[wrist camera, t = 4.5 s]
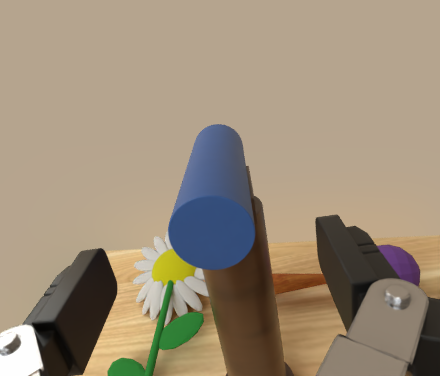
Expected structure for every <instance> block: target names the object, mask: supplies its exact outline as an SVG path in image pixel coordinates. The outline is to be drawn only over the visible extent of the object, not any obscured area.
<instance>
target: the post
mask: <svg viewBox="0 0 440 376" xmlns="http://www.w3.org/2000/svg"><path fill="white" fill-rule="evenodd" d="M246 171H247V178H248V184H249V191H250V198H251V204H252V211H253V218H254V225H255V240H254V244H253V246H252V248H251V250H250V252H249V253H248V254H247V256H246V257H245V258H244V259H243V260H241V261H240V262H239V263H237V264H235V265H233V266H231V267H228V268H225V269H220V270H206V269H202V271H203V275H204V279H205V283H206V287H207V291H208V295H209V299H210V303H211V307H212V312H213V316H214V320H215V324H216V328H217V332H218V336H219V340H220V344H221V348H222V352H223V356H224V360H225V365H226V369H227V374H226V376H294V375H293V372H292V370H291V369H290V367H289V366H288V365H287V364H286V363H285V362H284V355H283V348H282V341H281V334H280V326H279V319H278V312H277V305H276V298H275V291H274V284H273V277H272V270H271V263H270V255H269V248H268V241H267V235H266V227H265V220H264V213H263V207H262V202H261V201H260V199H259V198H257V197H256V196H254V194H253V188H252V183H251V177H250V171H249V166H246Z"/></svg>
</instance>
